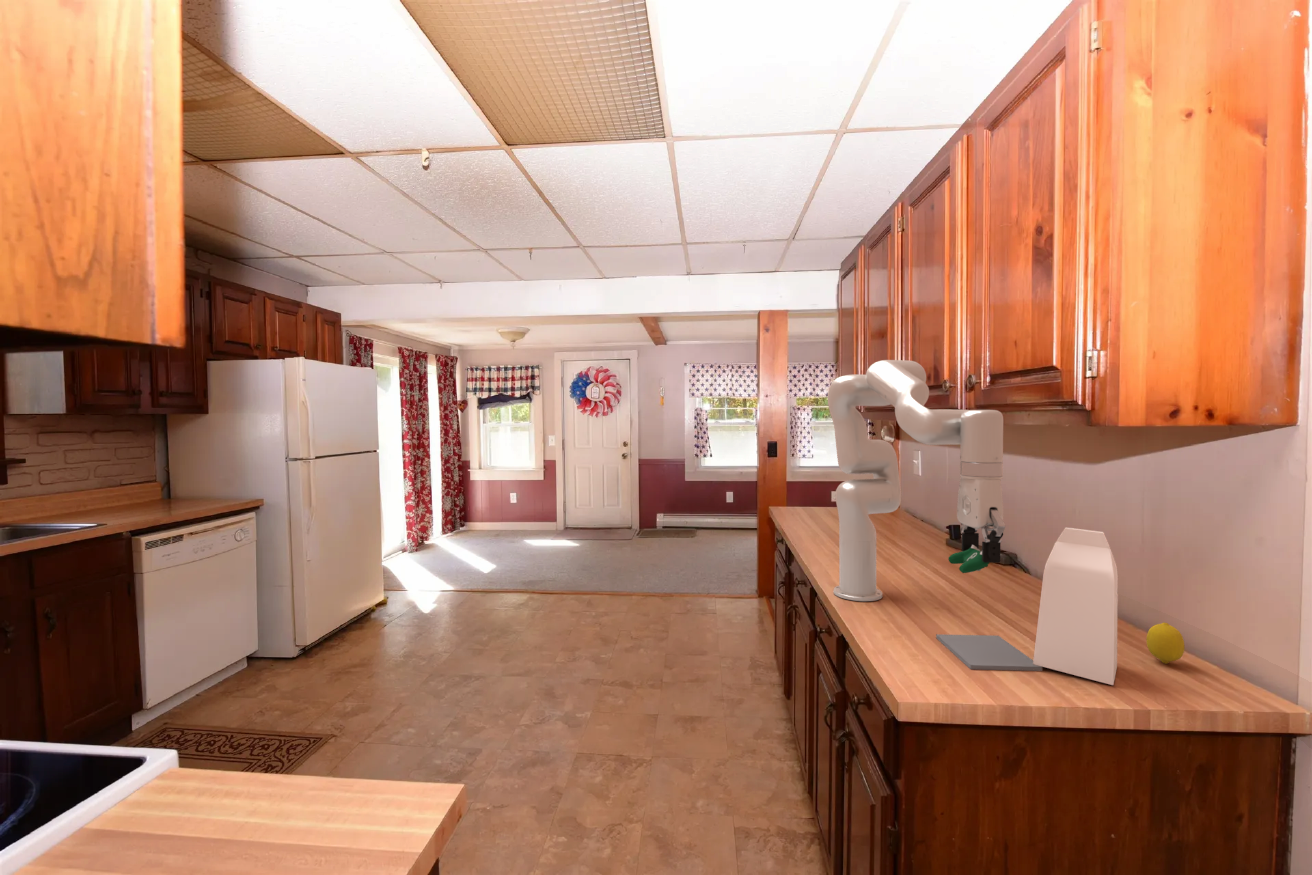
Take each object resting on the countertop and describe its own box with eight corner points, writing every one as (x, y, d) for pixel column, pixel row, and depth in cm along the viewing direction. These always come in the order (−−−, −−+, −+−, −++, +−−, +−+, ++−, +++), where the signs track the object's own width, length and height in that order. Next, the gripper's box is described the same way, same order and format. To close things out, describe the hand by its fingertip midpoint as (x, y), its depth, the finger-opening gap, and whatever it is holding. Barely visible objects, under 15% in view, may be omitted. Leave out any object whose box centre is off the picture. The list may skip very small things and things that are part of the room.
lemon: (1139, 660, 113) (1140, 619, 112) (1156, 655, 115) (1157, 616, 115) (1173, 671, 108) (1174, 629, 107) (1190, 666, 110) (1191, 625, 109)
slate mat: (936, 637, 125) (936, 634, 125) (998, 639, 124) (998, 635, 124) (970, 669, 109) (970, 665, 109) (1042, 670, 108) (1042, 666, 108)
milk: (1032, 663, 109) (1041, 528, 109) (1042, 647, 118) (1050, 522, 117) (1113, 685, 101) (1123, 539, 101) (1117, 666, 110) (1126, 531, 109)
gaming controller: (973, 583, 112) (997, 563, 111) (958, 569, 113) (983, 549, 112) (958, 571, 122) (981, 552, 120) (945, 558, 122) (967, 539, 121)
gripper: (943, 467, 125) (943, 547, 125) (982, 474, 108) (981, 567, 108) (979, 467, 124) (978, 547, 125) (1024, 475, 107) (1023, 568, 107)
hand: (980, 556), depth 116 cm, fingers closed on gaming controller, 8 cm apart
